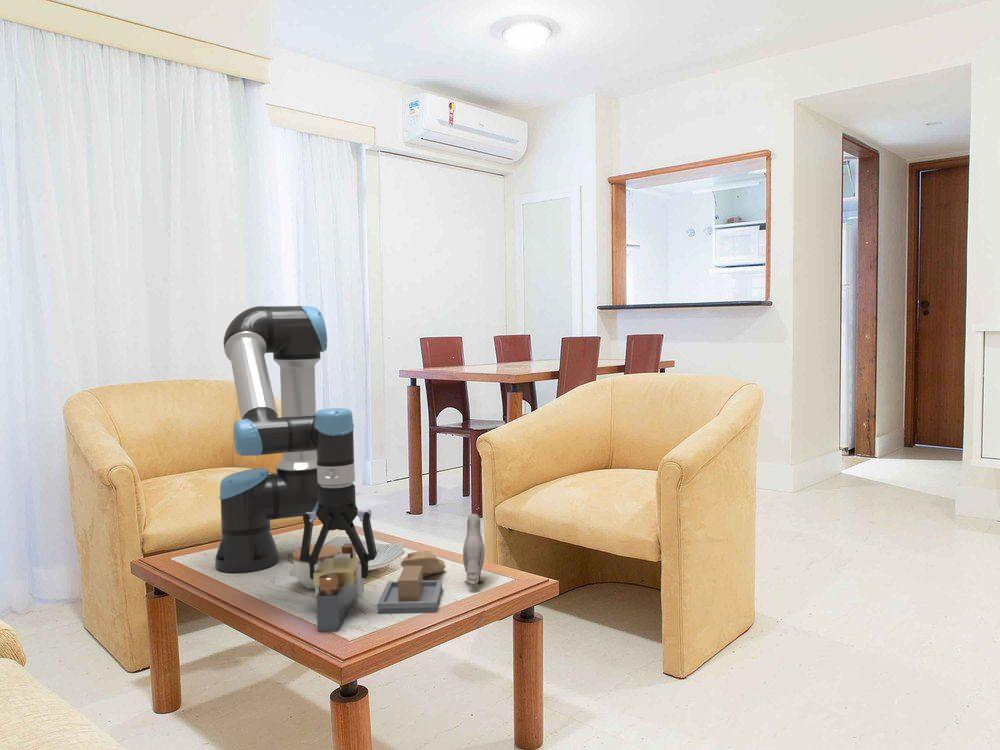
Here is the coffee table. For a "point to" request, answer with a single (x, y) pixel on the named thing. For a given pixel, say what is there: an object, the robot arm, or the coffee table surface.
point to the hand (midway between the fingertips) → (339, 593)
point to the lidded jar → (304, 568)
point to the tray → (410, 605)
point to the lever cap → (338, 569)
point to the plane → (335, 598)
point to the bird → (473, 550)
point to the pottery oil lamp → (424, 562)
